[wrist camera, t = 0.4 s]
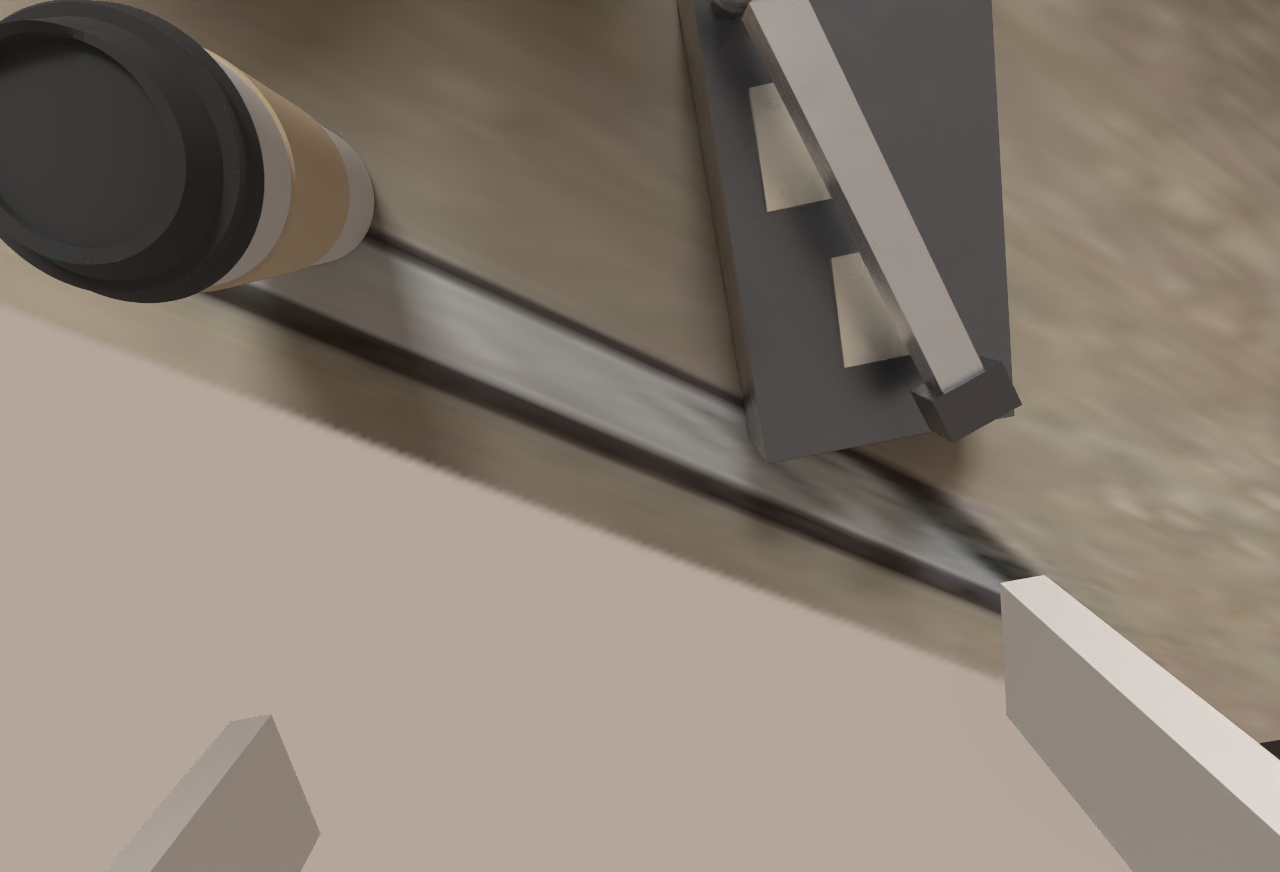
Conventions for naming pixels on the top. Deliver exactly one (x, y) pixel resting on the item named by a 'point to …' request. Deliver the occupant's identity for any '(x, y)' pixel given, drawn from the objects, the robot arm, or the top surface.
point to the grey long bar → (877, 218)
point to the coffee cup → (160, 160)
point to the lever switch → (814, 231)
